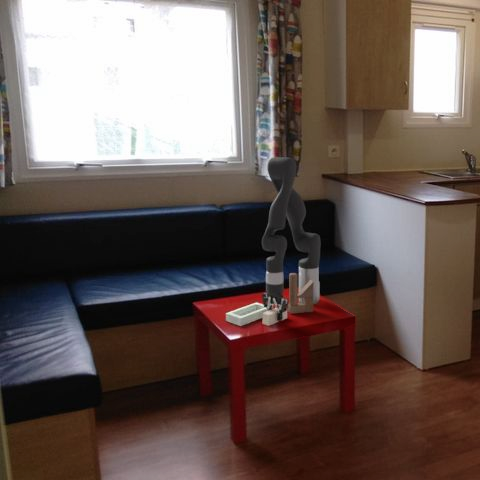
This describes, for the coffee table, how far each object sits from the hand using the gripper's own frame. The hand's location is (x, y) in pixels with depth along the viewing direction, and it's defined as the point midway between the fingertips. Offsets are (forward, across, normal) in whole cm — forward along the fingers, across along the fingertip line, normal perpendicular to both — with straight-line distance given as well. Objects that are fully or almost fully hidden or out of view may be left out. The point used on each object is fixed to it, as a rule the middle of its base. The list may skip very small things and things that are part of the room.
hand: (275, 318), depth 229 cm
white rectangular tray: (+1, +11, +5) cm, 12 cm away
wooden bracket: (+1, -1, -16) cm, 16 cm away
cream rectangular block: (+1, 0, 0) cm, 1 cm away
